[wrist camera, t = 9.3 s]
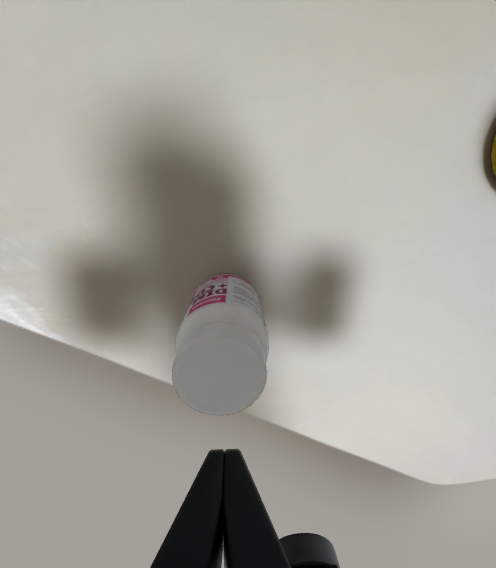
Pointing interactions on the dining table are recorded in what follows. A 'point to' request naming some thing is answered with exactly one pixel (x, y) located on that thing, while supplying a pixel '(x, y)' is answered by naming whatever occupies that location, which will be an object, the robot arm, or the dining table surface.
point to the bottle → (493, 156)
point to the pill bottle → (221, 348)
